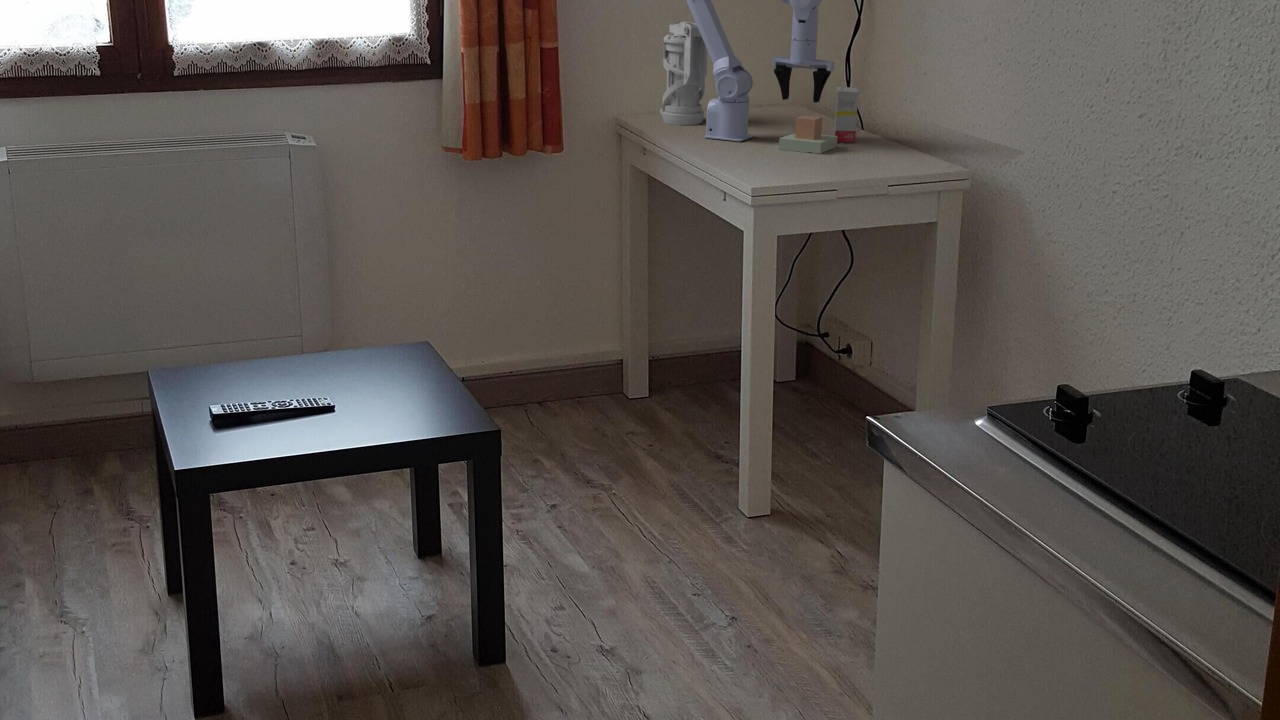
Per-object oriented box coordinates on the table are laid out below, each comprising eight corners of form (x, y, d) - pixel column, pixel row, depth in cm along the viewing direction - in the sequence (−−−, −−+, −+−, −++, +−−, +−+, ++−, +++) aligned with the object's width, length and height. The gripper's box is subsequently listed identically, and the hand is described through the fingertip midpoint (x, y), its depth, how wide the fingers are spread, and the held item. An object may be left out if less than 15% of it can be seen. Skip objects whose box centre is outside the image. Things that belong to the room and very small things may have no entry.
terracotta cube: (795, 137, 306) (796, 118, 305) (802, 135, 310) (803, 115, 308) (813, 139, 304) (814, 119, 303) (821, 136, 308) (822, 117, 306)
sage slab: (778, 149, 306) (779, 138, 305) (796, 142, 315) (796, 131, 314) (820, 153, 302) (820, 142, 301) (836, 147, 310) (837, 136, 309)
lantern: (655, 119, 342) (657, 18, 334) (692, 117, 346) (694, 17, 338) (677, 128, 331) (680, 23, 323) (715, 125, 335) (718, 21, 327)
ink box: (855, 143, 315) (859, 92, 311) (834, 142, 315) (837, 91, 311) (854, 137, 323) (857, 86, 319) (833, 136, 323) (836, 86, 320)
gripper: (767, 39, 305) (764, 100, 310) (827, 43, 299) (823, 105, 303) (779, 36, 311) (777, 96, 316) (839, 40, 305) (835, 101, 309)
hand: (800, 100), depth 310 cm, fingers open, 7 cm apart
